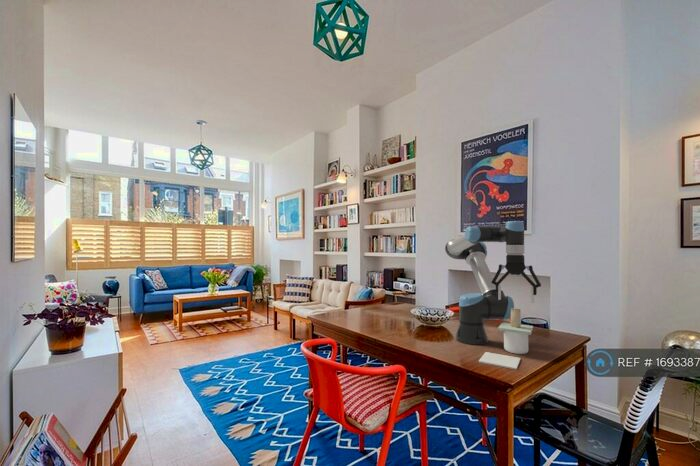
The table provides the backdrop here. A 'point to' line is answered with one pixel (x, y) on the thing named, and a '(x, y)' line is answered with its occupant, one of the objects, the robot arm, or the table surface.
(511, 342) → the cup
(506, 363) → the mat
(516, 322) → the lid
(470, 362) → the table surface
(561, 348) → the table surface
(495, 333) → the table surface
